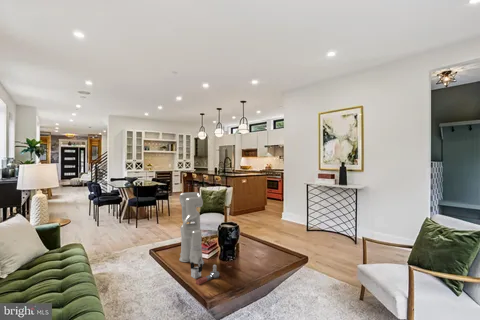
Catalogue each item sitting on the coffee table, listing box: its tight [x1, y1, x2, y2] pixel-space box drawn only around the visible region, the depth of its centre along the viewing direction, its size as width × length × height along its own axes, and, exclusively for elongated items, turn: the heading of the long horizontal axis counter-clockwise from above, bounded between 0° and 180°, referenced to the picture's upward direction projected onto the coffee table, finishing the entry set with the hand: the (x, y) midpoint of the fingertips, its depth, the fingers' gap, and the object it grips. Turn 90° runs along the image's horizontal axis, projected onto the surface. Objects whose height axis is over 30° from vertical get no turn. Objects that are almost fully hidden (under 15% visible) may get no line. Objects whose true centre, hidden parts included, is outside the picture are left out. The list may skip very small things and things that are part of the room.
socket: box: [190, 266, 202, 280], centre depth 190 cm, size 5×5×6 cm
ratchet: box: [195, 264, 220, 286], centre depth 186 cm, size 7×20×8 cm, turn 137°
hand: (196, 269), depth 189 cm, fingers open, 9 cm apart
